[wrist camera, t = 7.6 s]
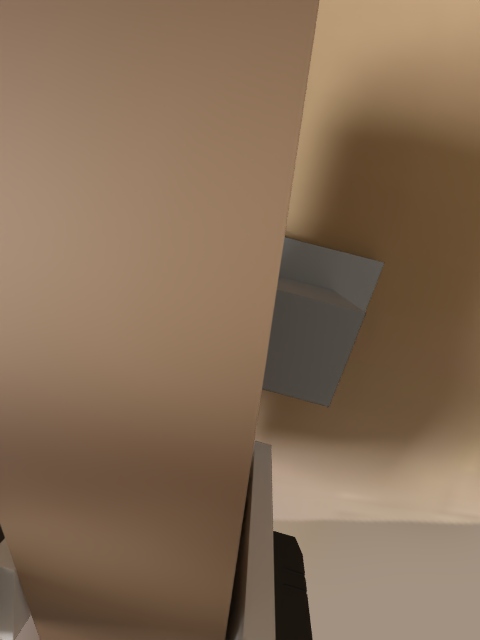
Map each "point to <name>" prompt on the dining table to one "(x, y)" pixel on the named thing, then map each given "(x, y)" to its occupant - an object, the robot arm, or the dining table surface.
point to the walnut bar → (139, 297)
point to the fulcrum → (316, 319)
